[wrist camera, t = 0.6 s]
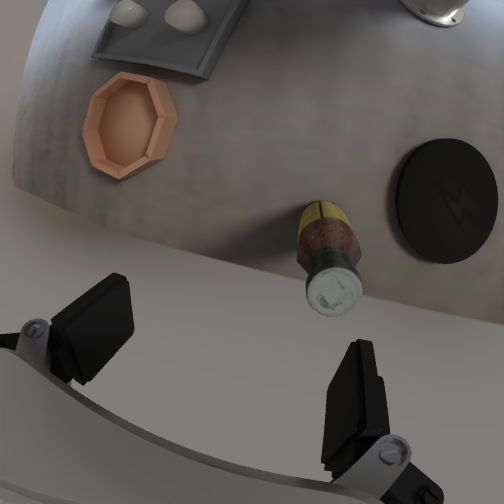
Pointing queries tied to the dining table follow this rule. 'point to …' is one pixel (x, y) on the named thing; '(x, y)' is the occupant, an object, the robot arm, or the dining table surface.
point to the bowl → (129, 124)
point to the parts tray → (172, 38)
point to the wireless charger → (446, 200)
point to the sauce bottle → (329, 259)
